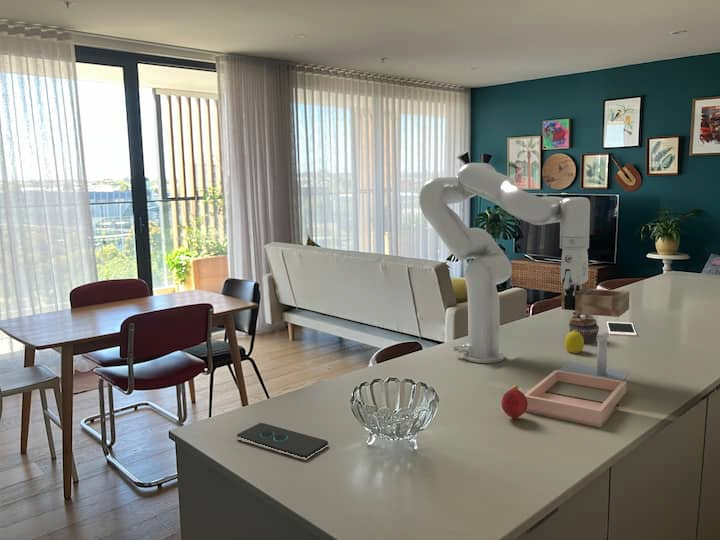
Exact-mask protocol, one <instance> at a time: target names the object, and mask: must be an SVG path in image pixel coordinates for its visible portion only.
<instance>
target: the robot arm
mask: <svg viewBox="0 0 720 540" xmlns="http://www.w3.org/2000/svg"><path fill="white" fill-rule="evenodd" d="M476 196H478V197H481V198H482V199H485V200H487V201H489V202H491V203H494V204H496V205H497V206H499V207H500V208H501V209H503V210H504V211H505V212H507V213H508V214H509V215H512V216H513V217H515V218H517V219H520V220H522V221H524V222H527V223H529V224H532V225H534V226H535V225H536V226H542V225H548V224H555V223H559V227H560V228H559V249H561V250H562V251H561V261H560V263H561V264H560V282H561V284H562V285H563V286H562V288H563V291H564V290H565V293H564V294H565V304H564V309H566V311H567V310H568V311H575V295H576V291H583V290H582V289H583V288H582V285H583V284H585V283H586V282H588V280H589V253H588V249H590V224H591V222H590V220H591V219H590V218H591V201H590V199H589V198H587V197H583V196H577V197H575V196H574V197H572V196H569V197H561V196H536V195H534V194H532V193H529V192H527V191H525V190H523V189H520V188H519V187H518V186H516V185H515V181H514V179H513V178H512V177H510V176H508V175H505V174H503V173H501V172H497V170H496V168H494V166H492V165H491V164H490V163H487V162H469V163H466V164H464V165H462V166H461V167H460V168H459V170H458V173H457V175H455V176H450V177H449V176H448V177H447V176H446V177H443V176H442V177H441V176H440V177H435V178H430V180H427V181H426V182H425V183H424V184H423V185H422V187H421V188H420V193H419V206H420V210H421V212H422V214H423V216H424V218H425V219H426V221H428V222H429V224H430V225H431V226H432V228H433V229H434V230H435V231H436V233H437V235H438V236H439V238H440V239H441V241H442V242H443V243H444V244H445V246H446V247H447V248H448V250H449V252H450V253H451V254H452V255H453V256H454V258H456V259H457V260H460V261H463V260H464V261H465V260H471V259H473V260H471V261H470V262H469V263H468V264H467V266H466V268H465V271H464V280H465V281H464V282H465V287H466V293H467V322H468V323H467V341H465V343H464V344H462V345H459V344H453V345H452V349H453V350H452V351H453V352H458V353H459V354H460V353H461V354H462V353H463V354H462V355H463V359H465V360H466V361H469V362H471V363H479V364H492V363H499V362H502V361H503V360H504V359H505V356H506V355H505V353H504V352H502V351H501V350H500V297H499V293H498V289H497V285H500V284H502V283H504V282H506V281H508V280H509V279H510V277H511V275H512V271H513V269H512V268H513V267H512V263H511V261H510V260H509V257H508V256H507V255H506V254H505V252H504V251H503V250H502V248H501V247H500V246H499V245H498V243H497V242H496V241H495V240H494V238H493V237H492V236H491V234H490V233H489V232H487V231H486V230H484V229H483V228H480V227H468V226H467V225H466V224H465V222H464V221H463V220H462V218H461V217H460V216H459V215H458V214H457V213H456V211H454V210H453V209H452V208H451V207H449V205H451V204H457V203H461V202H465V201H466V200H467V201H468V199H471V198H473V197H476ZM564 309H563V310H564Z"/></svg>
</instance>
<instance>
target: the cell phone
mask: <svg viewBox="0 0 720 540" xmlns="http://www.w3.org/2000/svg"><path fill="white" fill-rule="evenodd" d="M606 326H607V327H608V328H607V331H608V333H609V336H620V335H626V336H627V337H637V336H638V334H637V332H636V329H635V326H634V323H633V322H626V321H625V322H624V321H623V322H622V321H606Z"/></svg>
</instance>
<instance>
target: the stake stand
mask: <svg viewBox="0 0 720 540" xmlns="http://www.w3.org/2000/svg"><path fill="white" fill-rule="evenodd" d="M609 336H610V335H609V332H607V331H602V332H600V333H598V335H597V337H596V342H597V350H596V351H597V356H596V357H597V358H596V359H597V360H596V365H590V364H584V363H578V362H572V361H568V362H567V363H566V364H564V365H563V366H562V367H561V368H559V369H558V370H559V371H565V372H571V373H578V374H584V375H590V376H596V377H602V378H608V379H614V380H620V381H625V379H626V378H627V376H628V375H629V374H630V373H631V371H629V370H625V369H624V370H623V369H616V368H610V367H608V366H607V364H608V363H607V360H608V338H609Z"/></svg>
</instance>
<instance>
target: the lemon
mask: <svg viewBox="0 0 720 540" xmlns="http://www.w3.org/2000/svg"><path fill="white" fill-rule="evenodd" d="M564 346H565V348H566V351H567V352H569V353H571V354H579V353H581V352H582V350H584V346H585V343H584V340H583V337H582V335H581V334H580V333H579V332H577V331H576V330H573V331H572V332H570V331H569V332H568V333H567V334H566V336H565V339H564Z"/></svg>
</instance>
